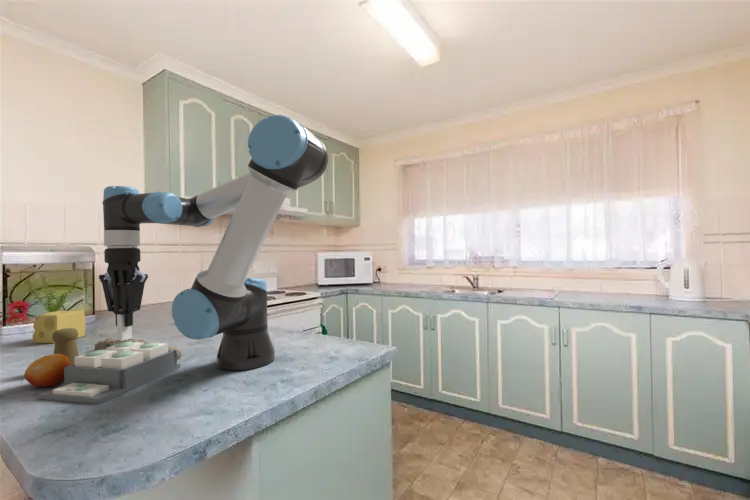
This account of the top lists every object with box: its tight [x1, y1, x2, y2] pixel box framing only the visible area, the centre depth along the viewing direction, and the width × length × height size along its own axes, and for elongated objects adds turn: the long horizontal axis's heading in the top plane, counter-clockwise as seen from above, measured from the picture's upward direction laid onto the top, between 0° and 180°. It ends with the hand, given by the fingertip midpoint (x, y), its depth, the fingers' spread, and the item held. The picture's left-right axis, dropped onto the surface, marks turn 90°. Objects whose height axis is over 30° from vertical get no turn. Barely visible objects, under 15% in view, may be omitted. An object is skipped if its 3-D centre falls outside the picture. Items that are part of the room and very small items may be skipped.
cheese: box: [32, 310, 86, 344], centre depth 127 cm, size 10×11×10 cm
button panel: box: [37, 350, 182, 405], centre depth 83 cm, size 16×22×5 cm
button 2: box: [101, 351, 143, 369], centre depth 81 cm, size 6×6×3 cm
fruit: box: [23, 353, 71, 388], centre depth 83 cm, size 8×8×8 cm
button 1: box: [74, 350, 117, 368], centre depth 82 cm, size 6×6×3 cm
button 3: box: [106, 342, 144, 353], centre depth 90 cm, size 6×6×3 cm
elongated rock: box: [94, 337, 183, 361], centre depth 106 cm, size 35×5×10 cm
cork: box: [52, 328, 80, 365], centre depth 93 cm, size 6×6×11 cm
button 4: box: [131, 342, 169, 359], centre depth 88 cm, size 6×6×3 cm
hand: (124, 338), depth 90 cm, fingers closed
